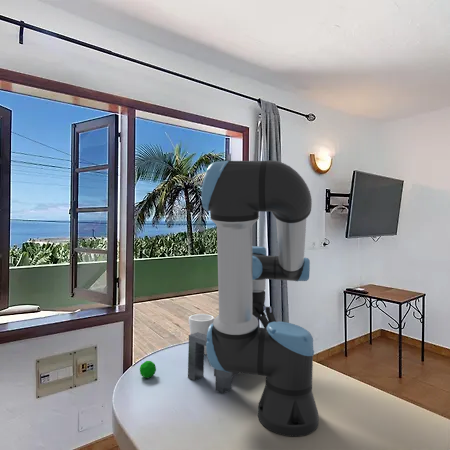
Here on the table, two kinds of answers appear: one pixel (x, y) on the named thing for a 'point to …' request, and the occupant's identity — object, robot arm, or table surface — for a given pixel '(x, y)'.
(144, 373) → the polyhedron
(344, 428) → the table surface
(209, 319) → the foam cup
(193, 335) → the grey arch
